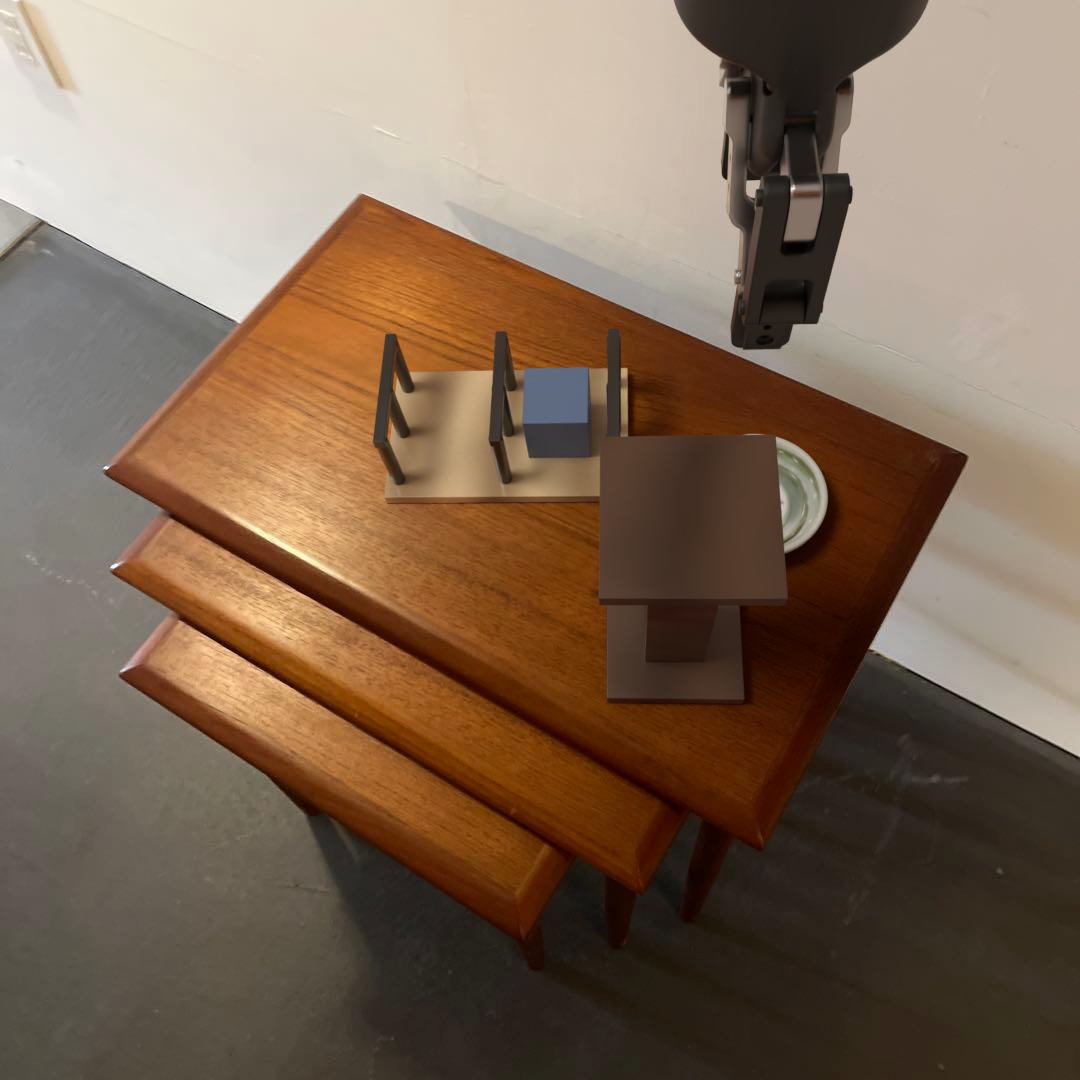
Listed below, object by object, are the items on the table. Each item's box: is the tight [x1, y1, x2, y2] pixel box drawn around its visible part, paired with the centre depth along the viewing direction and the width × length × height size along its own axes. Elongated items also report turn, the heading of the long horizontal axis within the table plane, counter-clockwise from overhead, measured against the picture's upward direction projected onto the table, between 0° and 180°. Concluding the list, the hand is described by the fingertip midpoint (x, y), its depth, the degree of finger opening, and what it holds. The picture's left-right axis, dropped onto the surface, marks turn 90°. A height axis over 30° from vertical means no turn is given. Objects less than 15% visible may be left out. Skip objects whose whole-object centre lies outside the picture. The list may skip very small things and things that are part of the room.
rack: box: [372, 328, 629, 504], centre depth 71 cm, size 18×11×7 cm, turn 88°
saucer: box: [744, 433, 829, 554], centre depth 69 cm, size 10×10×2 cm
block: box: [522, 366, 591, 458], centre depth 71 cm, size 5×5×5 cm
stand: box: [598, 434, 789, 705], centre depth 58 cm, size 9×9×20 cm
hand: (752, 253), depth 40 cm, fingers open, 8 cm apart
